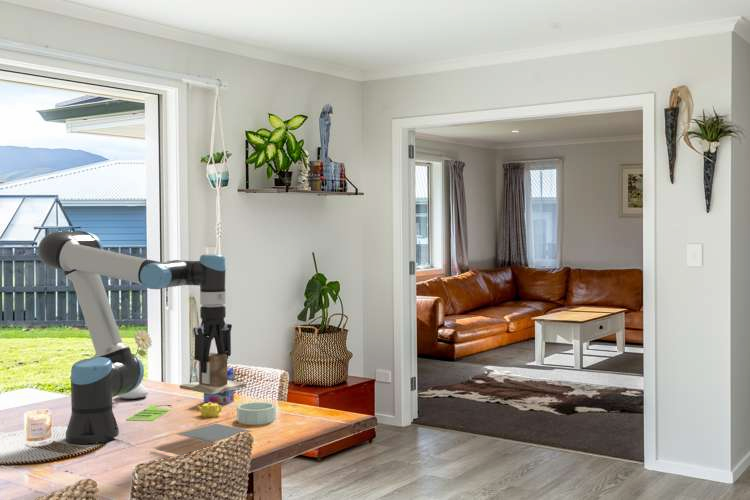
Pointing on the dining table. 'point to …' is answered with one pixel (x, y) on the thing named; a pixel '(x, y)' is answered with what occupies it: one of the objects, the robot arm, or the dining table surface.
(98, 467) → the dining table surface
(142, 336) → the flower in vase
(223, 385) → the lid
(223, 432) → the mat
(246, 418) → the bowl
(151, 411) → the door hanger
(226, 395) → the ink cartridge box
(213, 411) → the teapot
